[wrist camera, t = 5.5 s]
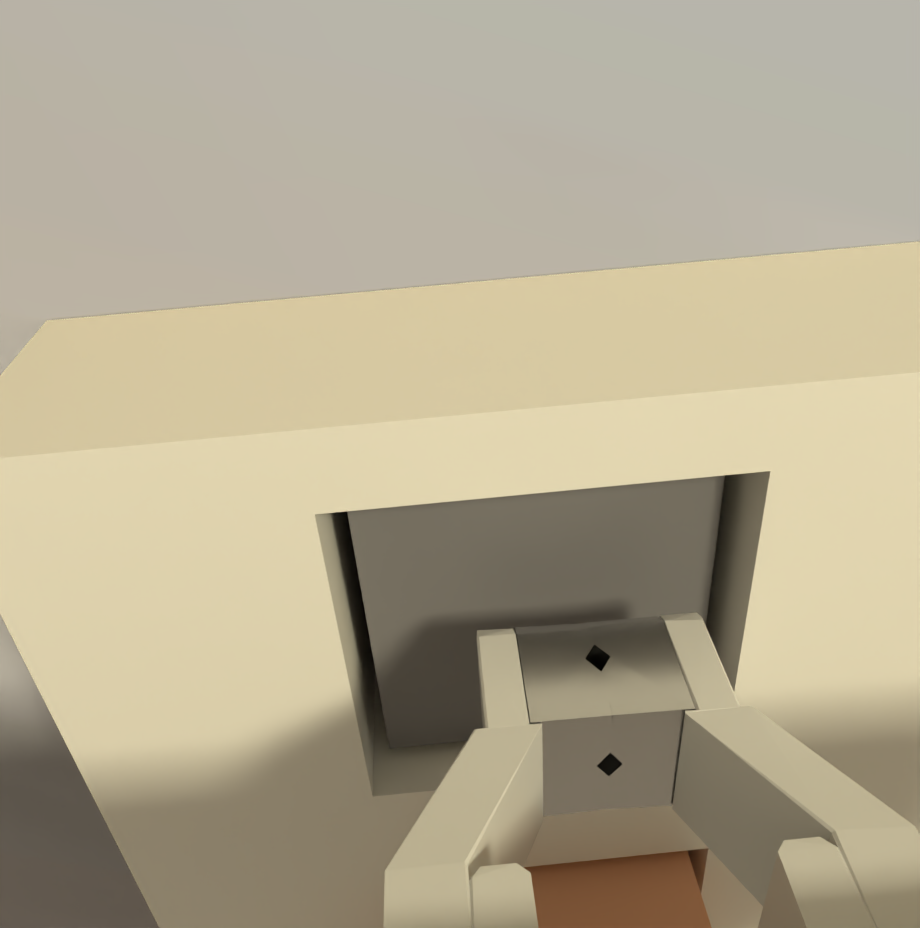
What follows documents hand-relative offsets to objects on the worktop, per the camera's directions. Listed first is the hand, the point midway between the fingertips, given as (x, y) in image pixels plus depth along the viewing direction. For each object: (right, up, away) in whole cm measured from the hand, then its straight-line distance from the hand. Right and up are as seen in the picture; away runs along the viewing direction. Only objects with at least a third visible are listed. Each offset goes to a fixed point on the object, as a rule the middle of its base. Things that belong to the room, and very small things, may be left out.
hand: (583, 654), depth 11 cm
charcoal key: (-1, +2, +3) cm, 4 cm away
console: (0, -1, +6) cm, 6 cm away
